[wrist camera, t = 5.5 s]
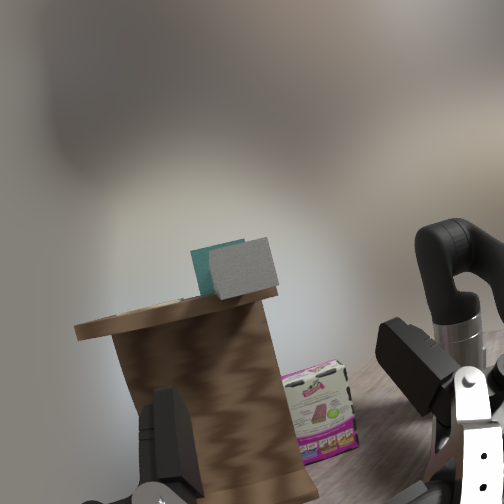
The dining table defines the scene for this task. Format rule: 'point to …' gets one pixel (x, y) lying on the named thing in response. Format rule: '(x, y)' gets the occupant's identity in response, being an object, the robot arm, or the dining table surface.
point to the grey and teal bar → (234, 268)
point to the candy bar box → (321, 411)
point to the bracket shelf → (217, 391)
